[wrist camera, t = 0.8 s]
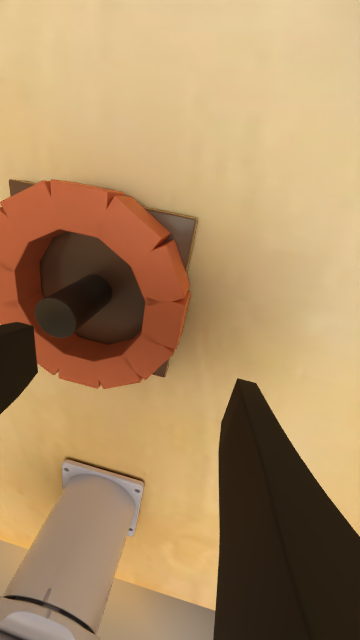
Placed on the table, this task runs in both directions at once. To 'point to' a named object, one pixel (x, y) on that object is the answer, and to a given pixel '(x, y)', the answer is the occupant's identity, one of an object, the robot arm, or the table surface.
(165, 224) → the stand
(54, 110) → the table surface
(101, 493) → the robot arm
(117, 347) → the ring
